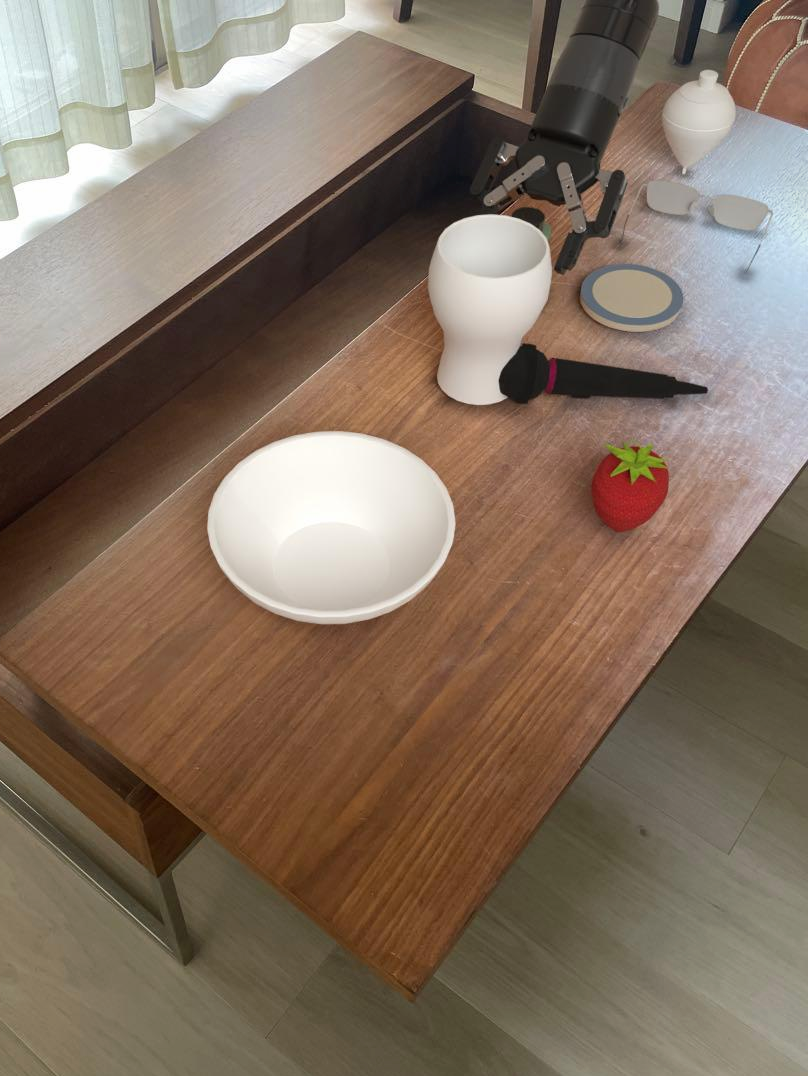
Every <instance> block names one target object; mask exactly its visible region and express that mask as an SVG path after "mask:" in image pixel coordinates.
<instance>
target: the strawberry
mask: <svg viewBox="0 0 808 1076" xmlns="http://www.w3.org/2000/svg"><path fill="white" fill-rule="evenodd" d="M631 440H632V441H633V442H634V443H635V444H636V445H637V446H635V445H632V446H630V445H628V444H627V443H626V442H624V441H621V445H622V447H621V448H619V447H616V446H613V445H609V444H607V443H604V447H605V448H606V449H607V450H608V451H610V453H608V454H607V455H606V456H604V457H603V459H601V461H600V462H599V463H598V465H597V467H596V469H595V471H594V473H593V475H592V479H591V482H590V492H591V499H592V506H593V509H594V511H595V513H596V514H597V516H598V517H599V518H600V519H601V520H602V522H603V523H605V525H606V526H607V527H609V528H610V529H612V530H613V531H615V532H616V533H624V532H628V531H632V530H634V529H636V528H638V527H640V526H641V525H644V524H645V523H647V522H648V521H650V520H651V519H652V518H653V516H655V514H656V513H657V512H658V511H659V510H660V508H661V507H662V505H663V504H664V503H665V500H666V498H667V496H668V494H669V484H670V474H669V473H670V472H669V467H668V466H667V464H666V462H667V461H668V460H667V459H662V457H661V456H659V454H657V453H656V452H654V451H653V450H652V449H653V448H654V445H655V444H656V443H655V442H653V443H650V444H648V445H645V446H644V447H642V446H641V445H640V443H638V442H637V441H636V440H635V439H634V438H631Z"/></svg>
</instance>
